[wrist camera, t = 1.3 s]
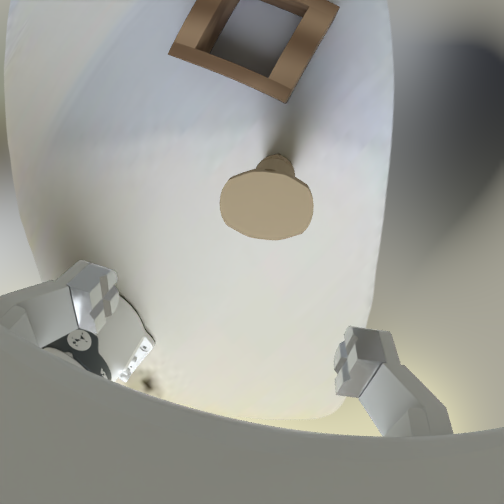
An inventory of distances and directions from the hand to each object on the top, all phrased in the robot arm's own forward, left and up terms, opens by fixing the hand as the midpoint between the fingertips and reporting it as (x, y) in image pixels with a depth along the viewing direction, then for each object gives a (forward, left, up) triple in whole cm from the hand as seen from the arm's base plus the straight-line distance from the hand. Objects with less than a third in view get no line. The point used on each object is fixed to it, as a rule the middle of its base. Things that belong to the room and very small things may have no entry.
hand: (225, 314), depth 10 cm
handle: (0, 0, -27) cm, 27 cm away
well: (+13, +9, -27) cm, 31 cm away
